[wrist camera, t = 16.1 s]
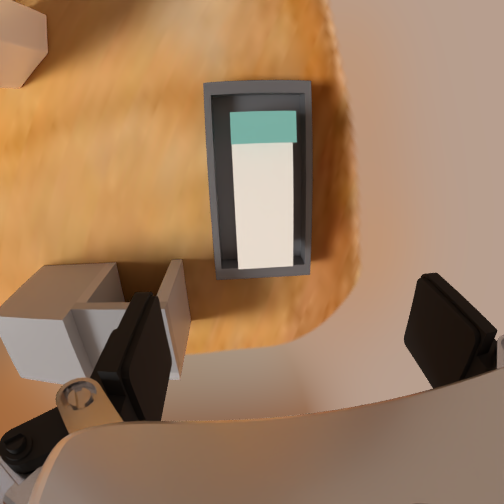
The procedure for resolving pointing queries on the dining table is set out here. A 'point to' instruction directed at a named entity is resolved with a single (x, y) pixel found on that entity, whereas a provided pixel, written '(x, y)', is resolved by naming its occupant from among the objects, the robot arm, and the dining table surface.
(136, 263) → the dining table surface
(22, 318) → the bay
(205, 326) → the dining table surface
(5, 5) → the jar
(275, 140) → the teal-capped white block
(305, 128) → the tray
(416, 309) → the robot arm
